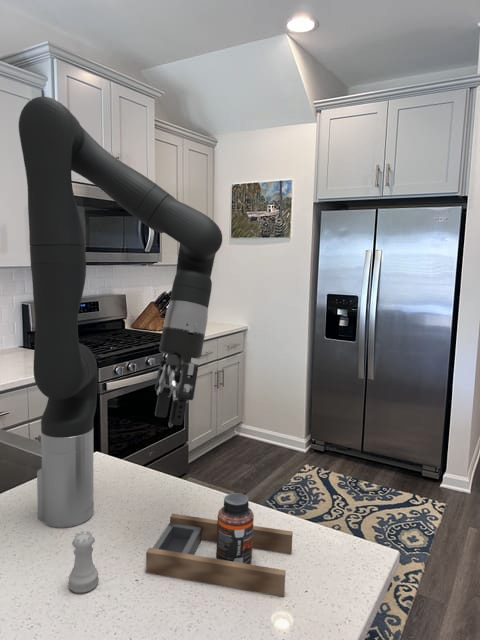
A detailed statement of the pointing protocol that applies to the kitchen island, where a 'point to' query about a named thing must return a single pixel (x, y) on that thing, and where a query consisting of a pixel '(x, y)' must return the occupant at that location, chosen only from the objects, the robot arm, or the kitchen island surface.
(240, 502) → the supplement bottle
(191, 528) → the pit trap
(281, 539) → the walnut channel
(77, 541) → the rook chess piece
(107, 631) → the kitchen island surface
